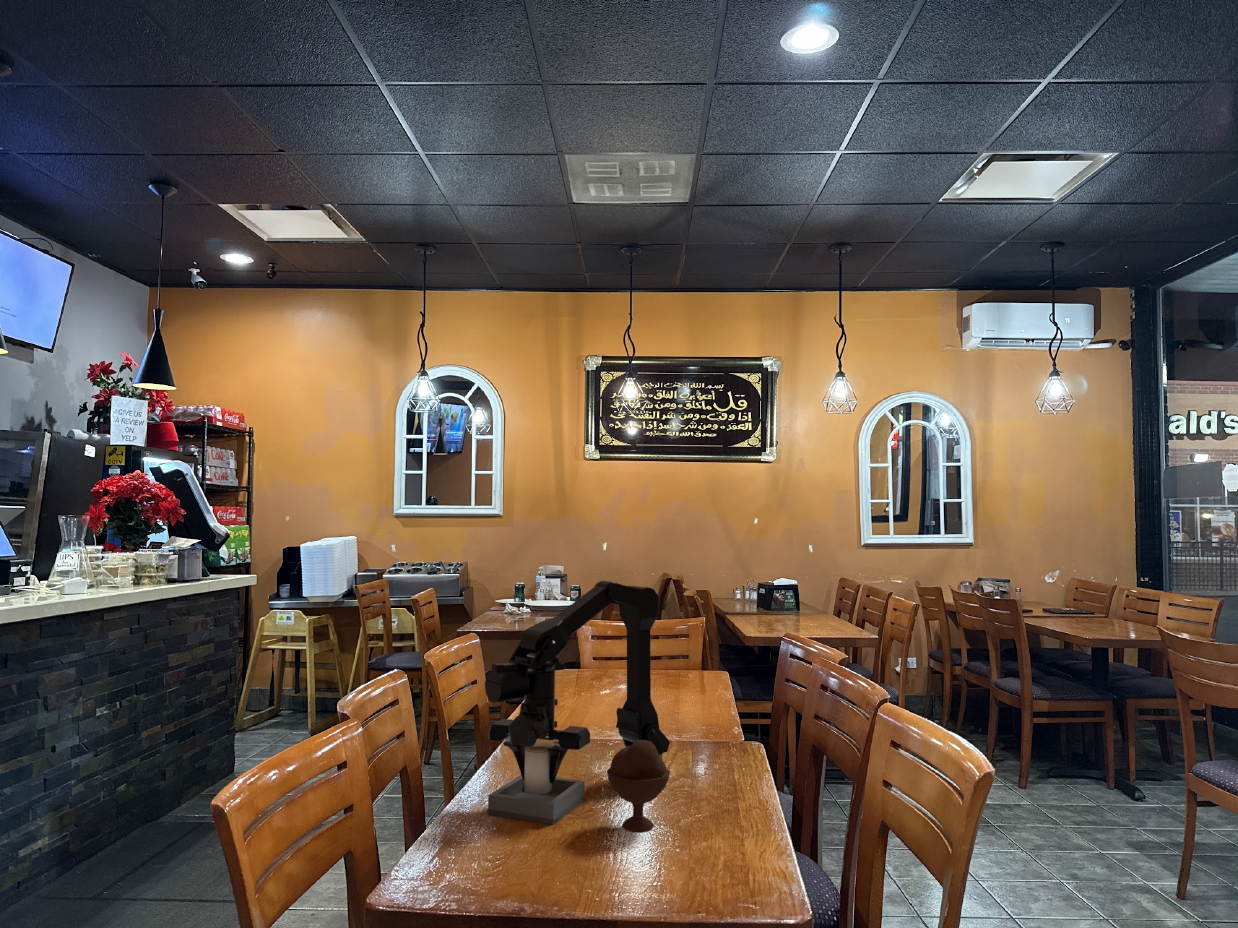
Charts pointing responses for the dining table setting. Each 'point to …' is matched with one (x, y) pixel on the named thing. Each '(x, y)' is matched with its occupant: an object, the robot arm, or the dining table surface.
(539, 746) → the cream jar
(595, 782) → the dining table surface
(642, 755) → the ice cream bowl
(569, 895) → the dining table surface
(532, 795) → the serving tray
